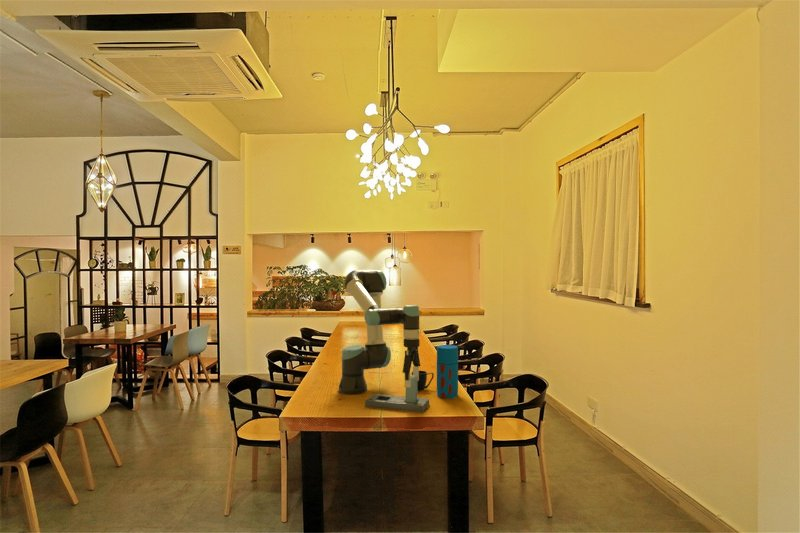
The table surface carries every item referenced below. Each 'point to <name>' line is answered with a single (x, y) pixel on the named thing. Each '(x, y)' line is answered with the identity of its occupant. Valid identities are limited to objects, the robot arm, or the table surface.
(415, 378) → the plug
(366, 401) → the panel
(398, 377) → the table surface
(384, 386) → the table surface
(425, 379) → the mug
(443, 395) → the thermos
